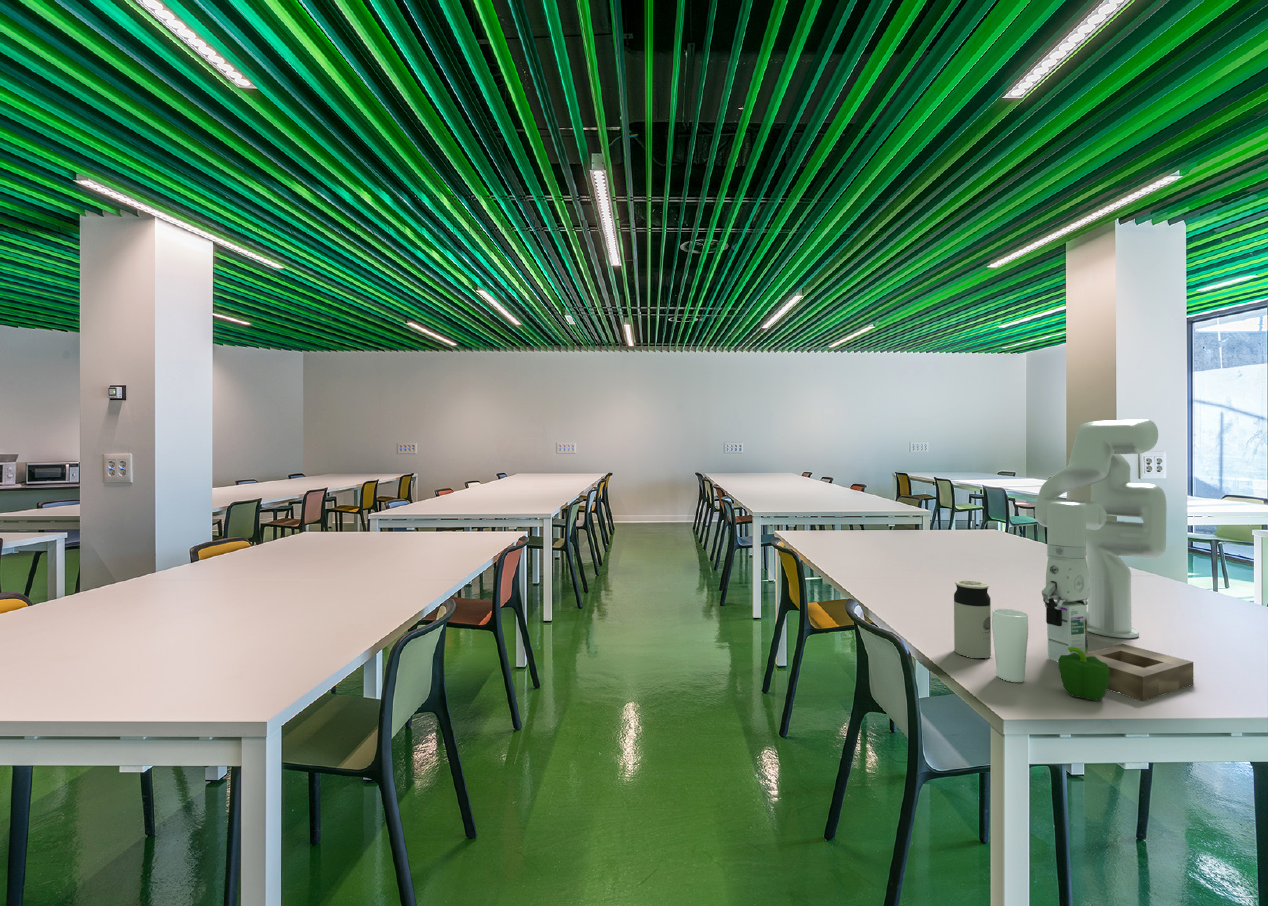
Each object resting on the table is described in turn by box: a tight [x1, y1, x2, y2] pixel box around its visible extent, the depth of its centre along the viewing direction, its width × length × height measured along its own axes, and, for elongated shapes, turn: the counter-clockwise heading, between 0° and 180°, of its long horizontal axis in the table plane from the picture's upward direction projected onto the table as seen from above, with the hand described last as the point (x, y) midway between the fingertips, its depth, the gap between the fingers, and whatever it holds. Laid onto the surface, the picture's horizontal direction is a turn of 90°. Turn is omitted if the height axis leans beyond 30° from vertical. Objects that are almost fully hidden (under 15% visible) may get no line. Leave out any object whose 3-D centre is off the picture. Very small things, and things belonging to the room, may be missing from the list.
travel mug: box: [953, 579, 992, 659], centre depth 142 cm, size 8×8×18 cm
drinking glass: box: [991, 608, 1029, 683], centre depth 127 cm, size 7×7×15 cm
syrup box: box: [1046, 600, 1089, 662], centre depth 137 cm, size 6×6×14 cm
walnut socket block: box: [1084, 643, 1195, 702], centre depth 125 cm, size 13×20×5 cm, turn 113°
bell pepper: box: [1057, 647, 1110, 701], centre depth 118 cm, size 8×8×10 cm
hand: (1066, 622), depth 136 cm, fingers open, 9 cm apart
